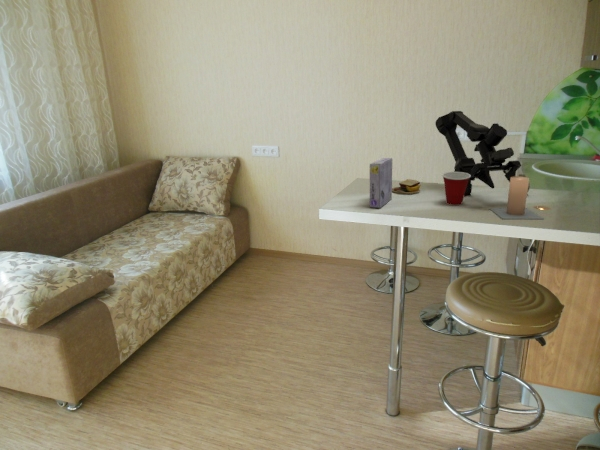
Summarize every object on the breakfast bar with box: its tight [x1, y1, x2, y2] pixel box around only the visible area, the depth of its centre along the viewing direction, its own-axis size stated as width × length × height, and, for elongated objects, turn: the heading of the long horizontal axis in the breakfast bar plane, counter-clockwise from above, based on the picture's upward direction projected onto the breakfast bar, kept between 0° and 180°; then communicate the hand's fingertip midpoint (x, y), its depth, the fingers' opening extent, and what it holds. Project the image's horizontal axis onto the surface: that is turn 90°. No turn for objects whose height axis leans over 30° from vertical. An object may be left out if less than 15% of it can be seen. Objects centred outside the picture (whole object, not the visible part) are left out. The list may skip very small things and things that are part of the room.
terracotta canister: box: [506, 175, 530, 215], centre depth 159 cm, size 6×6×13 cm
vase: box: [517, 173, 531, 194], centre depth 188 cm, size 7×7×9 cm
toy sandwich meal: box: [392, 178, 421, 195], centre depth 200 cm, size 12×14×5 cm
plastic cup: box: [441, 171, 471, 206], centre depth 176 cm, size 11×11×12 cm
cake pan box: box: [369, 157, 393, 209], centre depth 179 cm, size 19×5×18 cm, turn 154°
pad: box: [489, 207, 545, 221], centre depth 161 cm, size 14×14×1 cm
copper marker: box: [533, 205, 551, 211], centre depth 169 cm, size 6×6×1 cm
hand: (504, 187), depth 166 cm, fingers open, 9 cm apart
